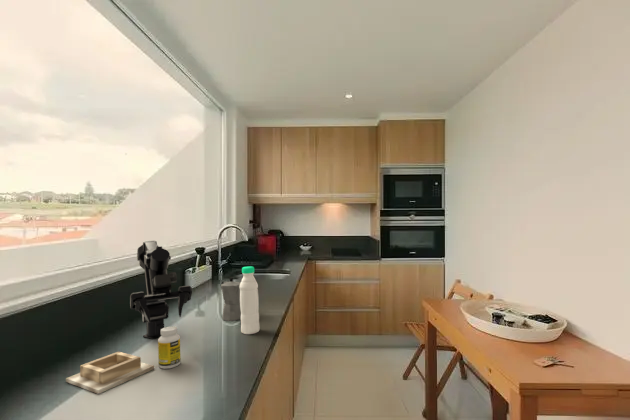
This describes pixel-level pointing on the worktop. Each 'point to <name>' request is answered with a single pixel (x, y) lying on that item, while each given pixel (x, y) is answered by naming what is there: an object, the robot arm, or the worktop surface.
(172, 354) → the pill bottle
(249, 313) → the water bottle
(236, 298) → the coffeepot
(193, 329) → the worktop surface
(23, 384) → the worktop surface
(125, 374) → the socket
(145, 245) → the robot arm
